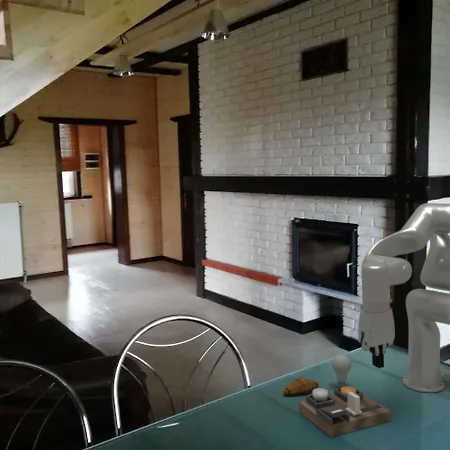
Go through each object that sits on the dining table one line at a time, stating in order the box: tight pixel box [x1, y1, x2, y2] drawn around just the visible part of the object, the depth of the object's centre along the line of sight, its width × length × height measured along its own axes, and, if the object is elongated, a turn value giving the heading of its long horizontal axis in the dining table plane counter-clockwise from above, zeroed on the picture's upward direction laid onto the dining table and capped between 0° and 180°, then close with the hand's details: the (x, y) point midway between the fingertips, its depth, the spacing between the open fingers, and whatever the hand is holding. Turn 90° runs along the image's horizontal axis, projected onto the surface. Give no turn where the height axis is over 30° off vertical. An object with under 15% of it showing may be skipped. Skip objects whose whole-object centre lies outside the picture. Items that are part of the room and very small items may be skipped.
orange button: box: [341, 385, 357, 396], centre depth 150 cm, size 4×4×2 cm
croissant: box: [282, 377, 320, 397], centre depth 161 cm, size 14×7×5 cm, turn 119°
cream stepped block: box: [345, 392, 362, 416], centre depth 140 cm, size 3×4×5 cm
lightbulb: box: [331, 354, 352, 388], centre depth 163 cm, size 6×6×11 cm
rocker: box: [320, 405, 346, 418], centre depth 138 cm, size 4×6×1 cm
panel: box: [298, 385, 392, 438], centre depth 145 cm, size 20×16×5 cm
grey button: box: [312, 387, 329, 401], centre depth 146 cm, size 4×4×2 cm
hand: (378, 366), depth 146 cm, fingers closed
